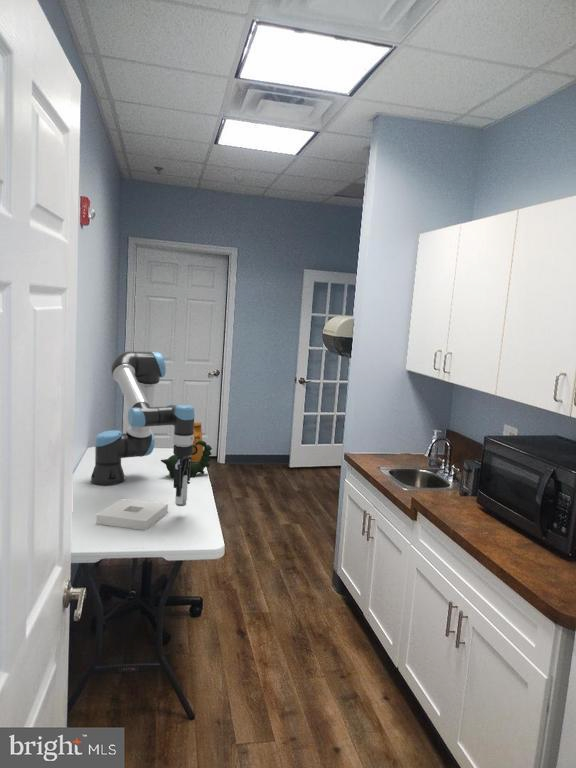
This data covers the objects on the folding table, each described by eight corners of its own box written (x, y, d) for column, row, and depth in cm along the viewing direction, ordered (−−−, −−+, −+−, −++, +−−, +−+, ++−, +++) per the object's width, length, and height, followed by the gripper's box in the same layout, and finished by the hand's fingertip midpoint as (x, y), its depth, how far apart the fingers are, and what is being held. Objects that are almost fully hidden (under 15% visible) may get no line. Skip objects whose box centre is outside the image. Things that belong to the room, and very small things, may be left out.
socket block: (122, 506, 225) (122, 498, 224) (167, 512, 221) (167, 503, 221) (96, 523, 205) (96, 514, 205) (145, 530, 202) (146, 521, 201)
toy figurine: (204, 475, 282) (156, 474, 271) (209, 439, 281) (161, 437, 269) (210, 480, 274) (160, 479, 262) (214, 443, 272) (165, 441, 261)
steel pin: (178, 502, 219) (179, 473, 218) (187, 503, 218) (188, 474, 217) (174, 505, 215) (175, 476, 214) (183, 506, 214) (185, 477, 213)
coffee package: (203, 463, 297) (204, 424, 295) (180, 463, 294) (181, 423, 292) (202, 459, 307) (203, 420, 304) (179, 459, 304) (180, 420, 301)
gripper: (184, 450, 205) (182, 510, 208) (200, 440, 221) (197, 496, 224) (165, 448, 206) (163, 507, 209) (182, 438, 223) (180, 494, 226)
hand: (181, 501), depth 217 cm, fingers closed on steel pin, 4 cm apart
